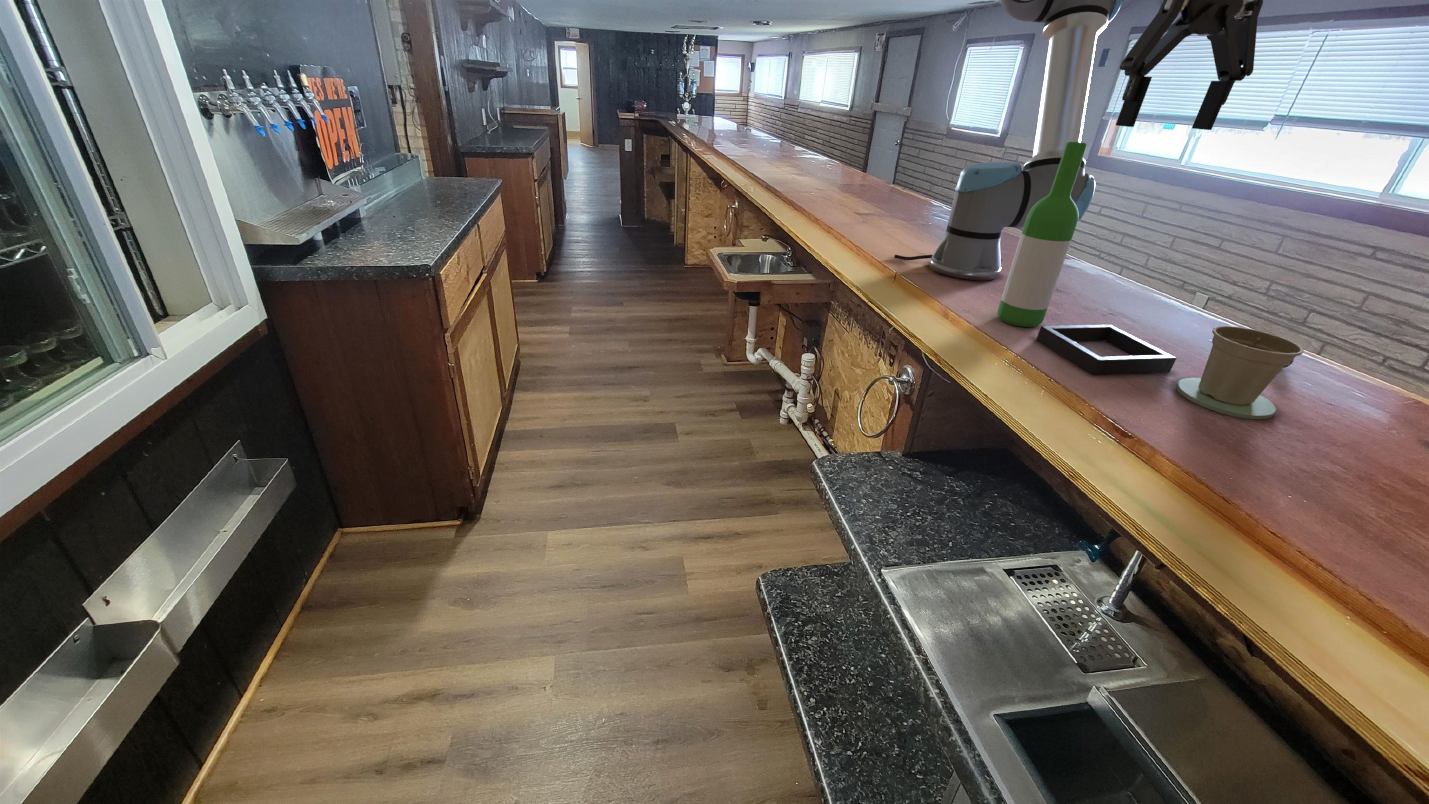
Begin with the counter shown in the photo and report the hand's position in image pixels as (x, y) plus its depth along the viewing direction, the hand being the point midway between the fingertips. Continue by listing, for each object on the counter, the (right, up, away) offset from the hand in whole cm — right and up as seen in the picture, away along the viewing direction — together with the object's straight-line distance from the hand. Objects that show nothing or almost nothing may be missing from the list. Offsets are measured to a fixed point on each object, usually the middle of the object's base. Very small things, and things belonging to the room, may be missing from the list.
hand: (1163, 128), depth 86 cm
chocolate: (+21, -37, +4) cm, 43 cm away
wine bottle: (-13, -27, +17) cm, 35 cm away
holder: (-6, -34, +5) cm, 35 cm away
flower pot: (+3, -41, -7) cm, 42 cm away
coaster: (+3, -42, -7) cm, 42 cm away
